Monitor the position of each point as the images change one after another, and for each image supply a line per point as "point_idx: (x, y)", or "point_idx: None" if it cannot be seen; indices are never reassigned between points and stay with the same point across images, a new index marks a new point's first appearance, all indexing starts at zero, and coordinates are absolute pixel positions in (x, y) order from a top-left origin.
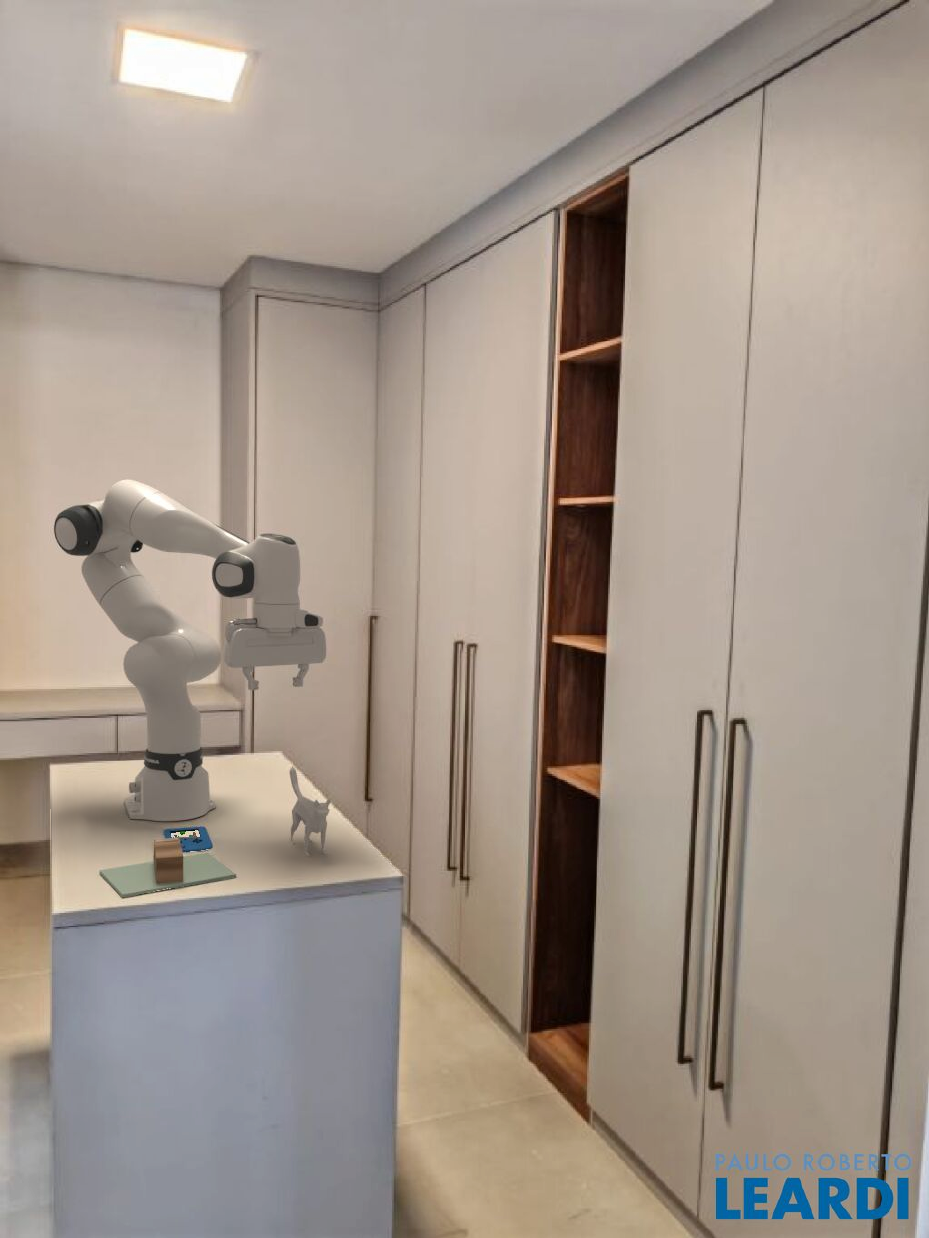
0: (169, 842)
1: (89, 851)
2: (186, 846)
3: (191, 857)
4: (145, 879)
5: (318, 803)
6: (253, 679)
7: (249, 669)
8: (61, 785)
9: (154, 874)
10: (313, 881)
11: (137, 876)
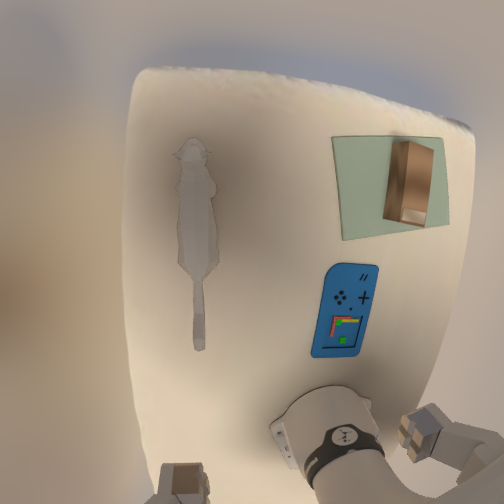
0: (413, 205)
1: (437, 301)
2: (358, 279)
3: (366, 228)
4: None
5: (200, 150)
6: (451, 430)
7: (495, 449)
8: None
9: None
10: (241, 82)
11: None
